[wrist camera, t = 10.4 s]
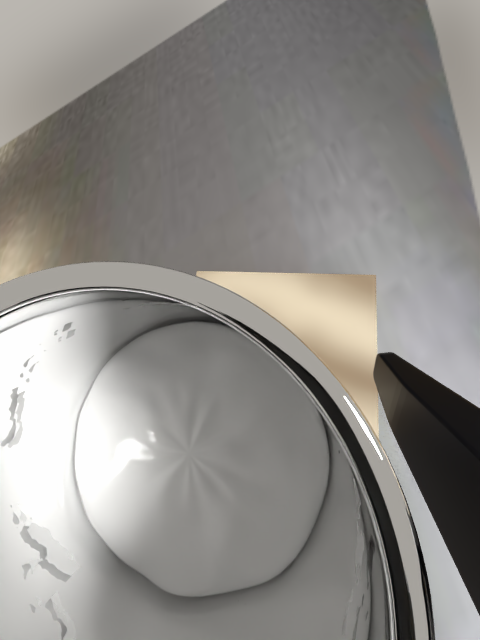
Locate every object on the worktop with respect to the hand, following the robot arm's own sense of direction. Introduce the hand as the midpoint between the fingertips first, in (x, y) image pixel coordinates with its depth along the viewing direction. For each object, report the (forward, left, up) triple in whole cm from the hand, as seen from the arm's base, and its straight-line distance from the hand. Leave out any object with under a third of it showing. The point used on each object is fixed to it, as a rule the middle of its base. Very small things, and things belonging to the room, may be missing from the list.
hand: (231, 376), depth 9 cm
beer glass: (-2, +1, -9) cm, 9 cm away
